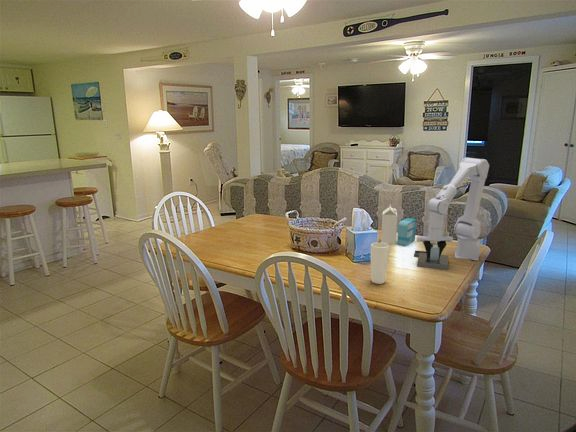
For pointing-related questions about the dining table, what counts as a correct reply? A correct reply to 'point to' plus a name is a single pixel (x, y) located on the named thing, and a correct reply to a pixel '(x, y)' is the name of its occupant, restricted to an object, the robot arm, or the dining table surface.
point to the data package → (406, 231)
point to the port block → (432, 262)
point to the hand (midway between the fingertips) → (433, 257)
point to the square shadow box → (418, 253)
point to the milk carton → (389, 226)
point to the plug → (434, 252)
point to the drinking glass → (379, 262)
